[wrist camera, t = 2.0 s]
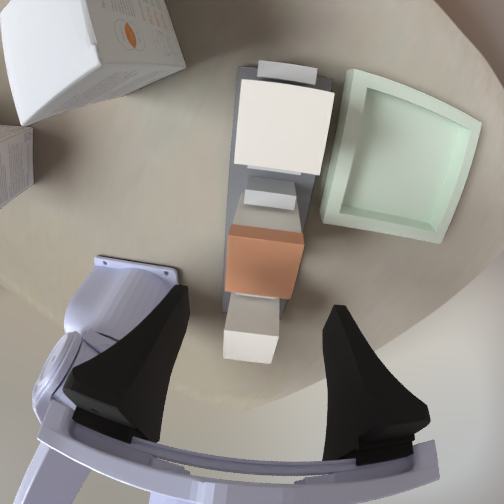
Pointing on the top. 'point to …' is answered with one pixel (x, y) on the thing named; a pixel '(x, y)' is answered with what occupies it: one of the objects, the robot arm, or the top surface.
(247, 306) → the block
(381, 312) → the top surface
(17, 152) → the light bulb box
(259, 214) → the block
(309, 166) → the block
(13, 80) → the small box
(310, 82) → the fuse holder
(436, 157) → the tray
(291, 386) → the top surface
